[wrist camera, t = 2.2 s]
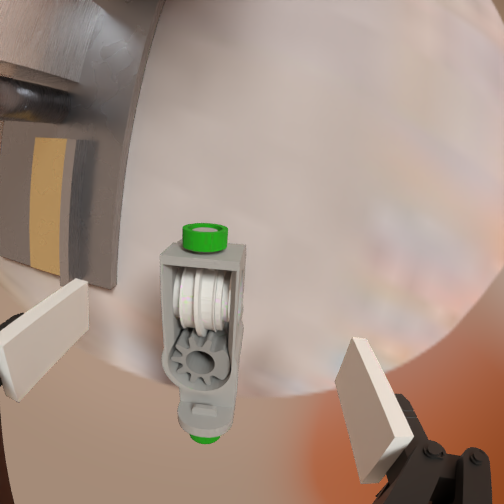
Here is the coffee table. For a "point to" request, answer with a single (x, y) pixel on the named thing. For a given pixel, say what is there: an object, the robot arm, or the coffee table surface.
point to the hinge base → (69, 129)
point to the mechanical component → (203, 326)
